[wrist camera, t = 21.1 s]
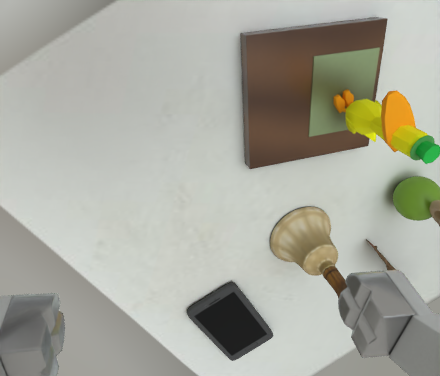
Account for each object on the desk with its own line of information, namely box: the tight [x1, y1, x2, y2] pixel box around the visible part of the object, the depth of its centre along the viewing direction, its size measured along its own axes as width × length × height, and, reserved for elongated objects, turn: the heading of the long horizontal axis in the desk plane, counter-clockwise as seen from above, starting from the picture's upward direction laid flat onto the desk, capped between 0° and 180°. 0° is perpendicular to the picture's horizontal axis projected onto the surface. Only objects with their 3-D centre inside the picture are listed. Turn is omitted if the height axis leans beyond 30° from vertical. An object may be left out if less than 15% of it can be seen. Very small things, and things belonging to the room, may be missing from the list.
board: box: [241, 17, 387, 169], centre depth 37 cm, size 13×14×2 cm
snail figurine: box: [393, 176, 440, 226], centre depth 43 cm, size 5×6×12 cm
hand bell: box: [270, 207, 348, 298], centre depth 40 cm, size 8×8×16 cm
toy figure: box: [334, 89, 440, 164], centre depth 32 cm, size 7×4×12 cm, turn 26°
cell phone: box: [187, 282, 273, 361], centre depth 51 cm, size 7×14×1 cm, turn 28°
